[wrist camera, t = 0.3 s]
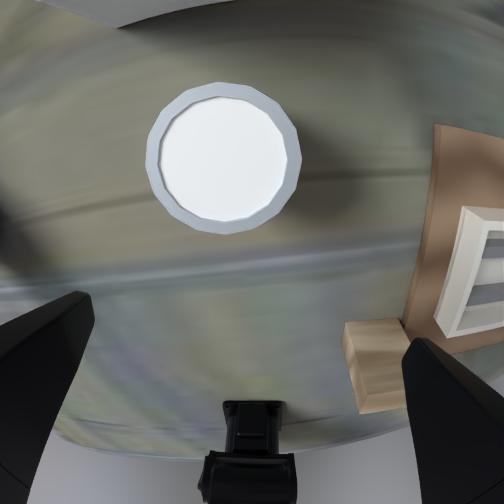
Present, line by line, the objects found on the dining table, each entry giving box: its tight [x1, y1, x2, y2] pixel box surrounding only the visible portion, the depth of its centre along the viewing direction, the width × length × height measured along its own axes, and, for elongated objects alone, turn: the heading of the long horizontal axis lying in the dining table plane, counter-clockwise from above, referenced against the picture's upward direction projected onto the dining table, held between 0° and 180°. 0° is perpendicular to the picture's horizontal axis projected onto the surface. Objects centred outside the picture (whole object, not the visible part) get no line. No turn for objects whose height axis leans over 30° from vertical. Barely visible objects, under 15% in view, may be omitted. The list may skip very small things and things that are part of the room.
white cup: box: [145, 82, 302, 235], centre depth 15 cm, size 7×7×7 cm
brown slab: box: [401, 123, 504, 355], centre depth 21 cm, size 22×16×1 cm
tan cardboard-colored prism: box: [342, 318, 410, 414], centre depth 22 cm, size 2×5×8 cm, turn 92°
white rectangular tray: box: [433, 206, 504, 338], centre depth 19 cm, size 10×10×3 cm
